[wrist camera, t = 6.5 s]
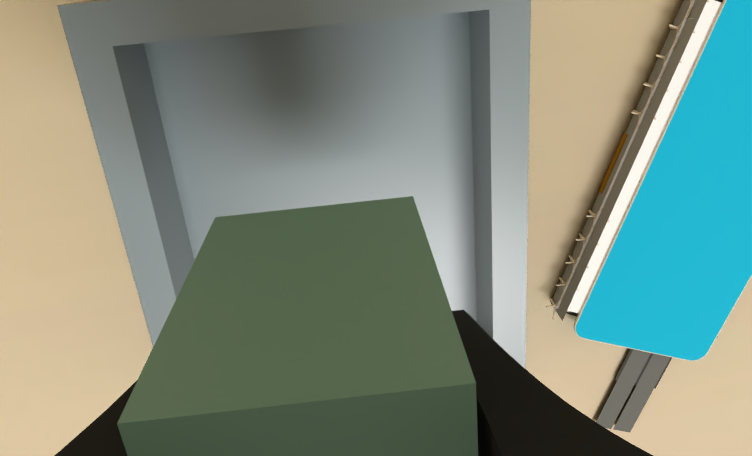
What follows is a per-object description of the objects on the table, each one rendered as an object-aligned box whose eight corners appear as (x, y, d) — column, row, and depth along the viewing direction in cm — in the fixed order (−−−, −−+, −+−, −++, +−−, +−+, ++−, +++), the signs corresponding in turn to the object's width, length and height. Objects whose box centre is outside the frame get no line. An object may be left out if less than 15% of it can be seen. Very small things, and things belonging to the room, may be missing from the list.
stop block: (249, 379, 14) (193, 652, 8) (215, 217, 12) (117, 423, 7) (424, 359, 14) (483, 617, 8) (412, 196, 12) (476, 382, 7)
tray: (204, 404, 22) (186, 466, 20) (102, -2, 17) (57, 5, 14) (501, 371, 23) (524, 428, 20) (499, -40, 17) (531, -41, 14)
